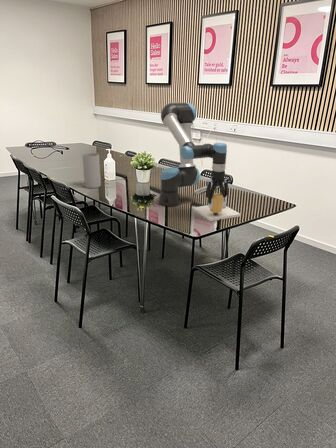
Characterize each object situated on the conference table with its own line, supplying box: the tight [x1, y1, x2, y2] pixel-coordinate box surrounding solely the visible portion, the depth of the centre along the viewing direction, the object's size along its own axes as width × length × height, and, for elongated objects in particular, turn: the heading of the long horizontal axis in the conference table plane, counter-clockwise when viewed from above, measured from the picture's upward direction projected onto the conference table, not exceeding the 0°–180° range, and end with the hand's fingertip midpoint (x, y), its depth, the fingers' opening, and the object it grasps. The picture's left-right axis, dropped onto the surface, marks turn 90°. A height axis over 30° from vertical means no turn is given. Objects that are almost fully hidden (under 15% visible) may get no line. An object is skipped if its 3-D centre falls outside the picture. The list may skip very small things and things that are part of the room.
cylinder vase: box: [81, 152, 102, 189], centre depth 261 cm, size 12×12×25 cm
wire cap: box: [210, 192, 223, 213], centre depth 203 cm, size 7×7×10 cm
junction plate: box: [191, 195, 242, 222], centre depth 211 cm, size 22×22×10 cm
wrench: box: [193, 183, 220, 195], centre depth 257 cm, size 8×2×30 cm
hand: (216, 207), depth 204 cm, fingers closed on wire cap, 7 cm apart
